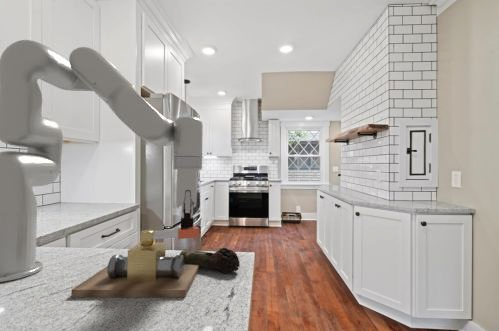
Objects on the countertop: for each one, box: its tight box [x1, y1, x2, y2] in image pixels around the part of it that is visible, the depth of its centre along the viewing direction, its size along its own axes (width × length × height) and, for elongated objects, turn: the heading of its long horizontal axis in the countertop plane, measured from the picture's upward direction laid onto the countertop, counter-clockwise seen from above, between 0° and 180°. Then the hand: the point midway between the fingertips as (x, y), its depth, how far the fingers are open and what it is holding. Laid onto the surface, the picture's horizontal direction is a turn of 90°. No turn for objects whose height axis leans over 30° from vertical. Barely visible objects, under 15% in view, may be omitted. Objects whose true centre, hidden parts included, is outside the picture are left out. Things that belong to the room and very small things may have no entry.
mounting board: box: [70, 265, 200, 298], centre depth 62 cm, size 24×15×2 cm, turn 90°
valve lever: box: [140, 226, 200, 247], centre depth 64 cm, size 14×3×3 cm, turn 109°
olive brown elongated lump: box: [179, 247, 241, 275], centre depth 72 cm, size 18×7×6 cm, turn 66°
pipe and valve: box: [107, 241, 184, 282], centre depth 62 cm, size 16×7×7 cm, turn 90°
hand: (186, 233), depth 68 cm, fingers closed
